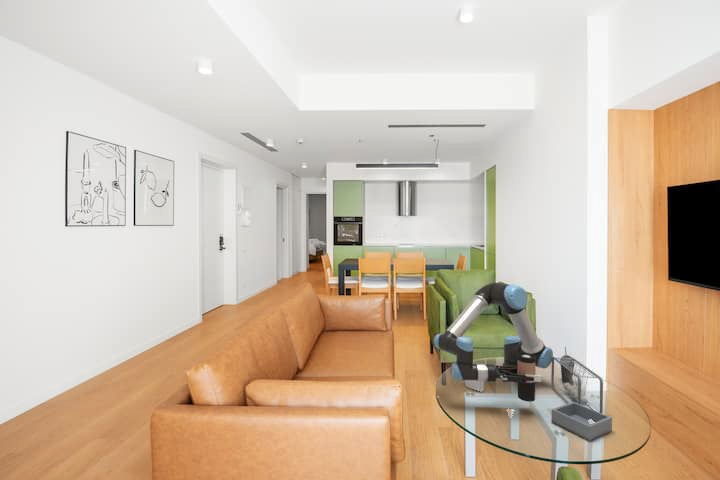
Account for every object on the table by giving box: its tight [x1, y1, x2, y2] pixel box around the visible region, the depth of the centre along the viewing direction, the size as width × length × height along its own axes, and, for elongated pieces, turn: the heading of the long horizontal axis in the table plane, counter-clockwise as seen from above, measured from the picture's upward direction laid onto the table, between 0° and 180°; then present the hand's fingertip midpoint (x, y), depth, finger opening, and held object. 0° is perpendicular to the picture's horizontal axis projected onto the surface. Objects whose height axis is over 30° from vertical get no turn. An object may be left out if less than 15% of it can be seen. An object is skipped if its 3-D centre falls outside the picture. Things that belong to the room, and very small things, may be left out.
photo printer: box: [464, 380, 485, 393], centre depth 188 cm, size 10×4×12 cm, turn 38°
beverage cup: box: [559, 346, 576, 384], centre depth 196 cm, size 7×7×20 cm
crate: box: [550, 401, 613, 443], centre depth 150 cm, size 16×16×6 cm
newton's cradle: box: [550, 356, 604, 414], centre depth 174 cm, size 30×10×18 cm, turn 173°
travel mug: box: [516, 353, 537, 403], centre depth 162 cm, size 8×8×20 cm
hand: (537, 374), depth 161 cm, fingers closed on travel mug, 7 cm apart
